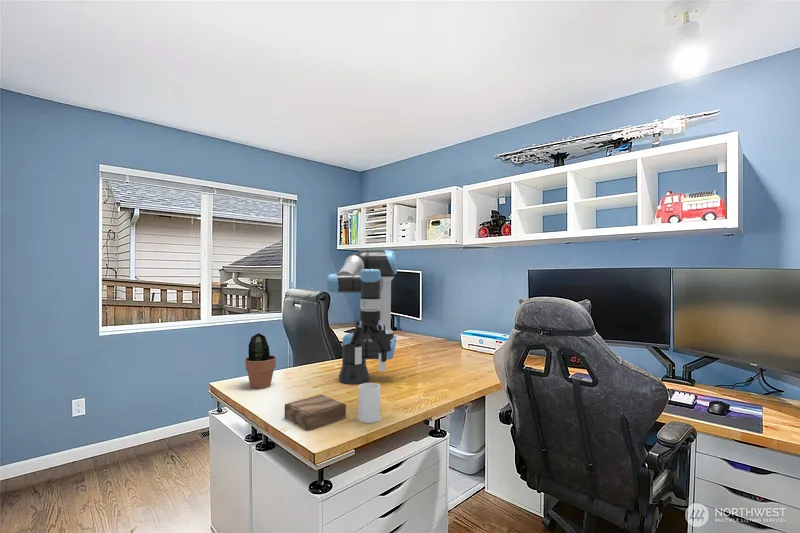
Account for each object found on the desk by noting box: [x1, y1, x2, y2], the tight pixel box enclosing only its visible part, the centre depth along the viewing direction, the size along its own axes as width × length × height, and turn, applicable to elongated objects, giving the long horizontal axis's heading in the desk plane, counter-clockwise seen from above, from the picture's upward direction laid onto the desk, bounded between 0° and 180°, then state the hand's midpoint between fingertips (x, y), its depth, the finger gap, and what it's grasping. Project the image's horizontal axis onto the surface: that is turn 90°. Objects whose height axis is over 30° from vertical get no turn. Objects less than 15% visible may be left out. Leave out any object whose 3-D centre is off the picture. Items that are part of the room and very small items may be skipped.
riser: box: [284, 394, 347, 431], centre depth 142 cm, size 16×16×5 cm
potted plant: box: [244, 332, 277, 390], centre depth 180 cm, size 14×14×25 cm
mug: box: [357, 382, 382, 424], centre depth 143 cm, size 12×8×12 cm
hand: (369, 367), depth 143 cm, fingers open, 13 cm apart
